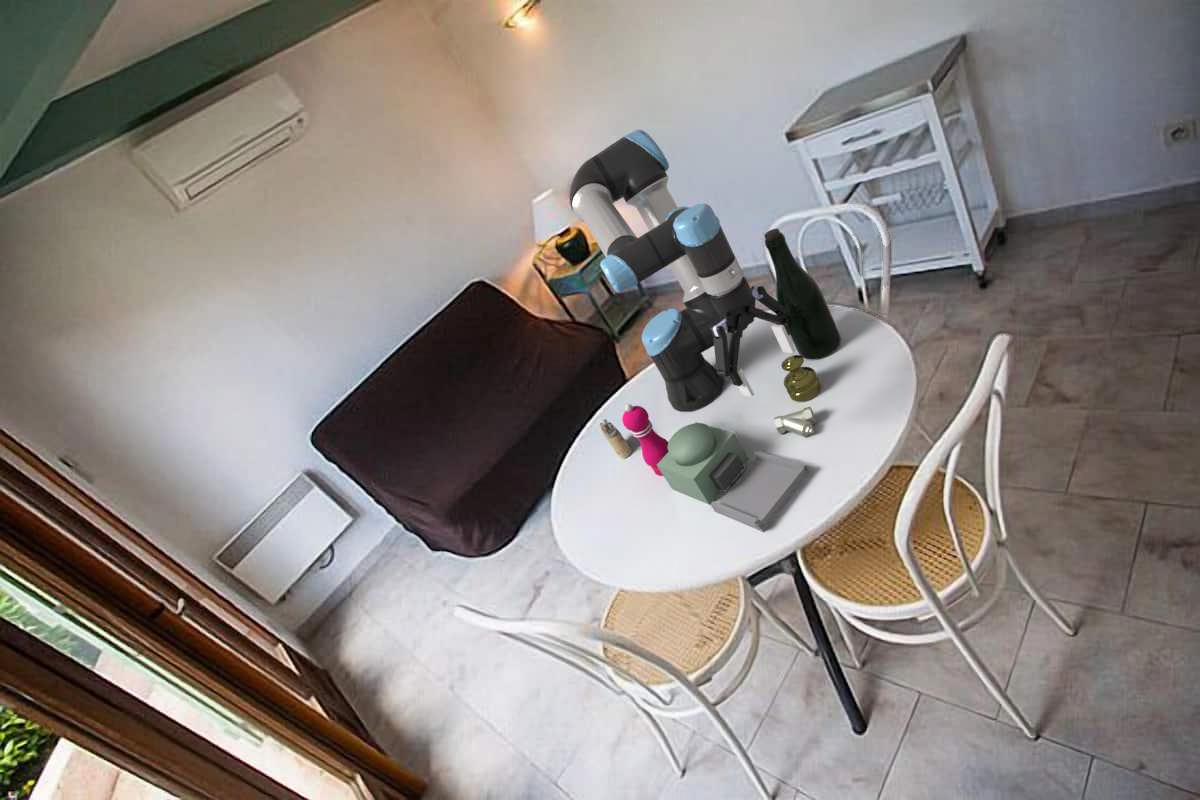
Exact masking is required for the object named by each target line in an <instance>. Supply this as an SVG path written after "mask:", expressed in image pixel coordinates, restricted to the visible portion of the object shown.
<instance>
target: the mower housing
mask: <svg viewBox="0 0 1200 800" xmlns="http://www.w3.org/2000/svg"><path fill="white" fill-rule="evenodd" d="M668 442H669V443H668V451H669V452H668V453H667V454H666V455H665V456H664V457H663V459H662V460H661V461H660V462H659V463H658V464H657V467H658V468H659V470H660V471H661V473H662V474H663V477H664V479H665V481H666V482H667V483H668V486H669V487H670V488H671V490H673V491H675V492H678V493H680V494H683V495H685V496H687V497H689V498H692V499H695V500H697V501H699V502H702V503H705V504H707V505H710V504H711V503H712V502H713V501H714V500H715V499H716V497H717V496H718V495H719V494H720V493H721V492H722V491H723V492H726V491H727V490H728V489H729V487H731V485H732V484H733V483H734V482H735V480H736V479H738V477H739V476H740V475H741V473H742V472H744V470H745V469H746V467H745V464H746V462H747V461H749V459H750V458H749V455H748V454H747V453H746V451H745V449H744V447H743V445H742V444H741V442H740V440H739V438H738V436H737V434H736V433H735V431H731V430H728V429H723V428H720V427H715V426H712V425H708V424H705V423H702V422H699V421H698V422H697V421H696V422H694V423H691V424H688V425H684V427H683V426H682V427H681V428H679V429H678V430H677V431H676V432H675V433H674V434H673V435H672V436H671V437H670V438H669V440H668ZM710 506H711V505H710Z"/></svg>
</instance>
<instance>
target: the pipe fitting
mask: <svg viewBox="0 0 1200 800" xmlns="http://www.w3.org/2000/svg"><path fill="white" fill-rule="evenodd" d="M773 422H774V426H775V428H776V431H777V432H778V434H779V435H780V434H784V433H786V432H790V433H794V434H795V435H798V436H801V437H804V438H807V437H809V436H810V435H812V434H814V430H815V429H814V426H813V425H815V424H816V423H817V420H816V415H815V413H814V410H813V408H812V407H811V406H807V407H804V408H803V409H801V410H798V411H795V412H794V411H793V412H792V413H789V414H785V415H779V416H775V417H774V418H773Z"/></svg>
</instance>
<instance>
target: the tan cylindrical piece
mask: <svg viewBox="0 0 1200 800" xmlns="http://www.w3.org/2000/svg"><path fill="white" fill-rule="evenodd" d="M599 426H600V430H601V432H602V434H603V435H604V437H605V439H606V440H607V441H608V443H609V444H610V446H611V447H612V449H613V450H614V451H615V453H616V454H617V455H618V456H619V457H620V459H626V457H627V458H628V457H630V456H631V455H632V453H633V449H632V448H631V445H629V444H628V442H627V441H626V440H625V438H624V437H623V434H621V432H620V431H619V429H618V428H617V427H616V426H615V425H614V424H613V423H612V422H610V421H608V420H607V419H606V418H604V419H603V423H602V422H600V423H599ZM631 452H632V453H631ZM630 454H631V455H630ZM629 455H630V456H629Z"/></svg>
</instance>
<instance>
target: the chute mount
mask: <svg viewBox="0 0 1200 800" xmlns="http://www.w3.org/2000/svg"><path fill="white" fill-rule="evenodd" d="M753 455H754V457H755V459H754V461H752V463H751V464H750V465H749V466H748V467H747V469H746V470H745V471H743V473H742V474H741V475H740V477H739V478H737V480H736V482H735V483H734V484H733V485H732V486H731V488H730V489H729V490H728V491H727V492H726V493H725V495H724V496H723V497H722V498H721V499H720V500H719V502H718V501H714V500H713V501H712V502H711V503H710V506H711V508H712V509H713V511H714V512H715V513H717V514H719V515H721V516H724V517H726V518H728V519H731V520H733V521H737V522H739V523H741V524H743V525H746V526H748V527H750V528H753V529H755V530H757V531H760V532H762V533H763V532H764V531H765V530H766V529H767V528H768V527H769V526H770V524H771V523H772V521H773V520H774V519H775V518H776V516H777V515H778V514H779V513H780V511H782V509H783V508H784V506H785V505H786V504H787V503H788V501H789V500H790V498H791V497H792V496H793V495H794V494H795V493H796V492H797V490H798V489H799V488H800V486H801V485H802V484H803V483H804V482H805V480H806V479H807V477H808V476H809V475H810V474H811V471H810V469H809V468H808V466H807V464H804V463H800V462H797V461H793V460H790V459H786V458H783V457H780V456H776V455H772V454H770V453H766V452H764V451H759V450H755V451H754V452H753Z"/></svg>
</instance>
